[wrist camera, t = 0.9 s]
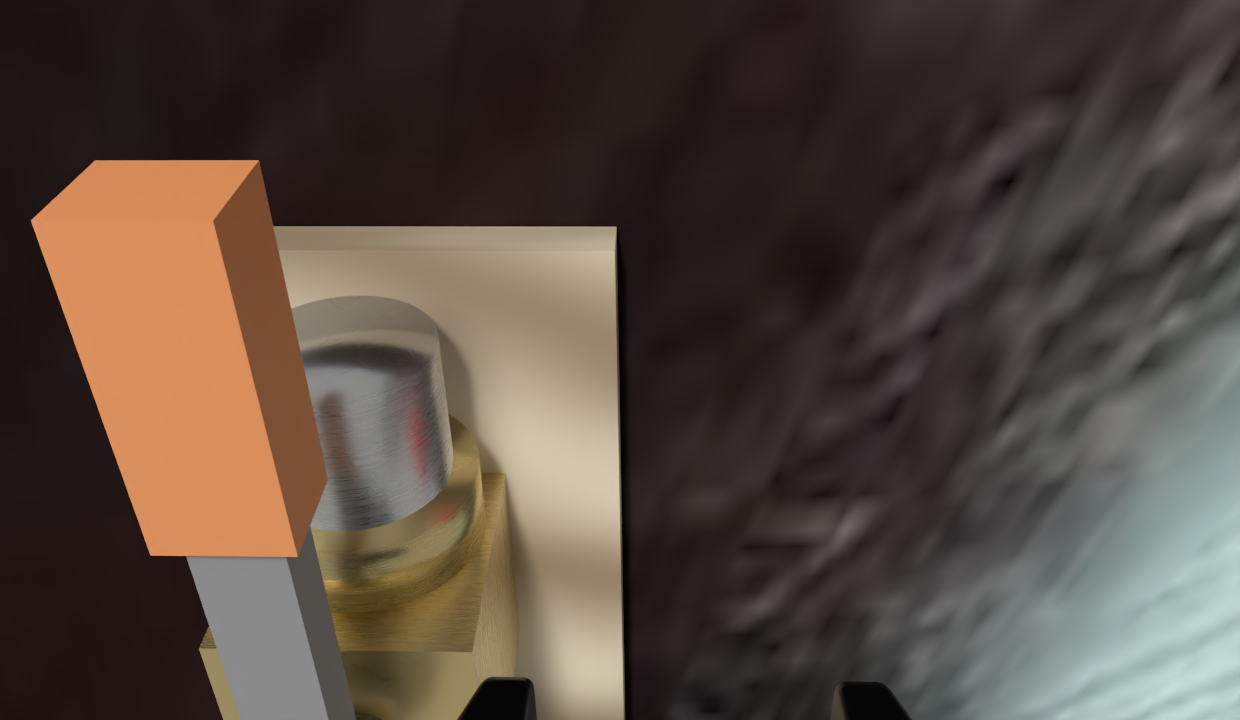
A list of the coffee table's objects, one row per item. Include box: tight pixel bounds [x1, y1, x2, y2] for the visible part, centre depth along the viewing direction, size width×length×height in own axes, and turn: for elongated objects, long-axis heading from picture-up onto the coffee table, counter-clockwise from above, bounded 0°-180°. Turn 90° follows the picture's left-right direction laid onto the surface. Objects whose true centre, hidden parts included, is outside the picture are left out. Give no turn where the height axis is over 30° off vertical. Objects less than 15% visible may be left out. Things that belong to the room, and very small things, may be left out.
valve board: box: [273, 226, 625, 720], centre depth 25 cm, size 16×10×1 cm, turn 1°
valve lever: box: [31, 160, 356, 720], centre depth 16 cm, size 14×3×2 cm, turn 1°
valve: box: [199, 296, 520, 720], centre depth 23 cm, size 14×5×6 cm, turn 1°
